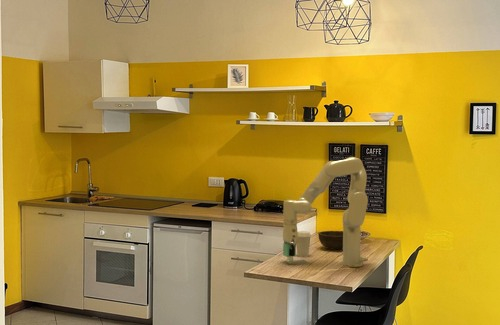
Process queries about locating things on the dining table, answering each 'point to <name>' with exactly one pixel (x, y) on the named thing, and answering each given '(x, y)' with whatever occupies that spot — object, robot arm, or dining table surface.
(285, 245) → the cap
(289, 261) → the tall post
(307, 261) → the stand board
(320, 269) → the dining table surface
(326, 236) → the bowl
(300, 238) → the coffee cup
